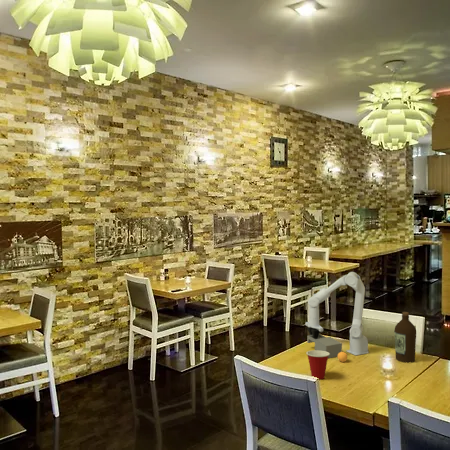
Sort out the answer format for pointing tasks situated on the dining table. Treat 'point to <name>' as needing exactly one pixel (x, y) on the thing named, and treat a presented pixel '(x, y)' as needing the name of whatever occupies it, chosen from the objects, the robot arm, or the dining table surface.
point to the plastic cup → (318, 363)
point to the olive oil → (405, 339)
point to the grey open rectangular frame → (326, 345)
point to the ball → (342, 356)
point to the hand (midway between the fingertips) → (314, 340)
